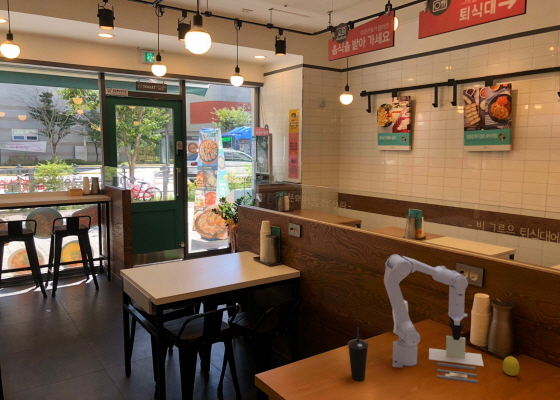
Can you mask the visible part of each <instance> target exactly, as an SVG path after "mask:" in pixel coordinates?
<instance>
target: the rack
mask: <svg viewBox="0 0 560 400" xmlns="http://www.w3.org/2000/svg"><path fill="white" fill-rule="evenodd" d="M436 366H439V367H448V368H456V369H465V370H471V371H477V367H476V366H472V365H471V366H470V365H464V364H462V365H461V364H456V363H448V362H447V363H446V362H440V361H438V362H436ZM450 372H451V373H459V374H467V377H472V378H473V379H471V378H468V379H466V378H458V377H451V376H445V375H441V374H450ZM436 373H441V374H436V379H444V380H449V381H450V380H451V381H458V382H464V383H470V384H471V383H472V384H479V380H478V379H474V378H478V374H477V373H471V372H465V371H464V372H463V371H455V370H449V369H448V370H447V369H441V368H437V369H436Z"/></svg>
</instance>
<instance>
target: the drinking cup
mask: <svg viewBox="0 0 560 400" xmlns="http://www.w3.org/2000/svg"><path fill="white" fill-rule="evenodd" d="M347 347H348V354H349V364H350V365H349V366H350V372H351V373H350V374H351V379H352V380H353V381H355V382H363V381H365V379H366V369H367V360H368V358H367V357H368V348H369V343H368V341H366V340H364V339H362V338H361V339H360V327H359V326H357V327H356V338H354V339H351V340H349V341H348V342H347Z"/></svg>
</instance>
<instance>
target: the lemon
mask: <svg viewBox="0 0 560 400" xmlns="http://www.w3.org/2000/svg"><path fill="white" fill-rule="evenodd" d="M519 363H520V362H519V361H518V360H517V358H516V357H514V356H512V355H509V356H507V357H505V358H504V359H503V361H502V370H503V372H504V373H505V375H508V376H512V377H514V376H517V375H518V374H519V372H520V364H519Z"/></svg>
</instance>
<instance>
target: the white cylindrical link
mask: <svg viewBox="0 0 560 400" xmlns="http://www.w3.org/2000/svg"><path fill="white" fill-rule="evenodd" d="M404 302H405V305H406V308H407V311H408V312H409V304H408V303H409V302H408V300H406V299H404ZM392 320H393V323H394V325H393V331H392V333H393V334H394V335H396V336H398V335H397V333H396V322H397V320H396V317H395V314H394V311H393V308H392Z"/></svg>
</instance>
